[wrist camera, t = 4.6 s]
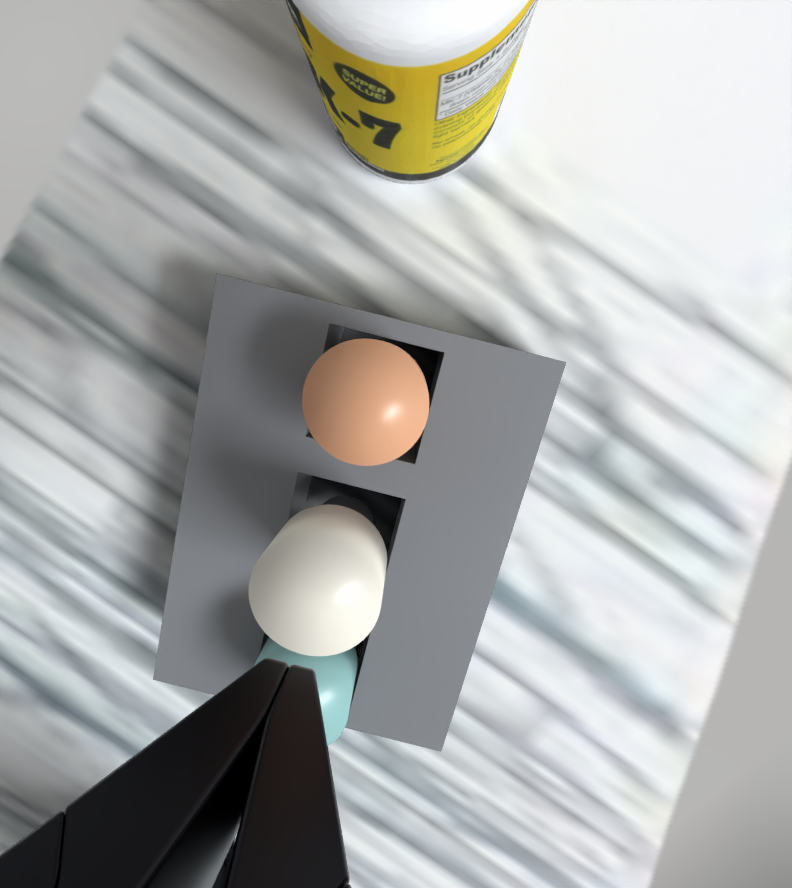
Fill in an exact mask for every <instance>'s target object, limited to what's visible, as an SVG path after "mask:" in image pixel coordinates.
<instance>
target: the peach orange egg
mask: <svg viewBox="0 0 792 888" xmlns="http://www.w3.org/2000/svg"><path fill="white" fill-rule="evenodd" d="M302 408H303V414H304V418H305V422H306V424H307V427H308V429H309V431H310V433H311V435H312V436H313V438H314V439H315V440H316V442H317V443H318V444H319V445H320V446H321V447H322V448H323V449H324V450H325V451H326V452H328V453H329V454H330V455H332V456H334V457H335V458H337V459H339V460H341V461H343V462H346V463H350V464H354V465H359V466H374V465H380V464H384V463H387V462H390V461H392V460H394V459H396V458H398V457H400V456H401V455H403V454H404V453H406V452H407V451H408V450H409V449H410V448H411V447H412V446H413V445H414V444H415V443H416V442H417V440H418V439H419V437H420V436H421V434H422V432H423V430H424V428H425V425H426V422H427V418H428V413H429V393H428V388H427V384H426V380H425V377H424V375H423V372H422V370H421V368H420V367H419V365H418V364H417V362H416V361H415V360H414V359H413V358H412V356H411V355H409V354H408V353H407V352H406V351H404V350H403V349H401V348H400V347H398V346H396V345H394V344H391V343H388V342H385V341H381V340H376V339H365V338H362V339H353V340H349V341H345V342H342V343H340V344H338V345H336V346H334V347H332V348H330V349H329V350H328V351H326V352H325V353H324V354H323V355H322V356H321V357H320V358H319V359H318V360H317V361H316V362H315V363H314V365H313V366H312V368H311V370H310V371H309V373H308V375H307V378H306V380H305V384H304V387H303V394H302Z"/></svg>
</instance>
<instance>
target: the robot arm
mask: <svg viewBox="0 0 792 888" xmlns="http://www.w3.org/2000/svg"><path fill="white" fill-rule="evenodd" d="M238 828H239V829H238ZM237 831H238V833H237ZM236 833H237V837H236V841H235V845H234V849H231V848H230V847H231V845H232V842H233V840H234V838H235V835H236ZM348 883H349V872H348V866H347V860H346V854H345V848H344V842H343V836H342V830H341V824H340V818H339V812H338V806H337V800H336V794H335V788H334V782H333V776H332V770H331V764H330V758H329V752H328V746H327V740H326V734H325V728H324V722H323V716H322V710H321V704H320V698H319V692H318V686H317V680H316V674H315V671H314V670H313V669H311V668H307V667H303V666H299V665H295V664H293V665H291V666H290V667H289V664H288V663H287V662H284V661H280V660H276V659H272V658H265V659H263V660H261V661H260V662H259V663H257V664H256V665H255V666H253V667H252V668H251V669H249V670H248V671H247V672H245V673H244V674H243V675H241V676H240V677H239V678H237V679H236V680H235V681H233V682H232V683H231V684H229V685H228V686H227V687H225V688H224V689H223V690H221V691H220V692H219V693H217V694H216V695H215V696H213V697H212V698H211V699H209V700H208V701H207V702H205V703H204V704H203V705H201V706H200V707H199V708H197V709H196V710H195V711H193V712H192V713H191V714H189V715H188V716H187V717H185V718H184V719H183V720H181V721H180V722H179V723H177V724H176V725H175V726H173V727H172V728H171V729H169V730H168V731H167V732H165V733H164V734H163V735H161V736H160V737H159V738H157V739H156V740H155V741H153V742H152V743H151V744H149V745H148V746H147V747H145V748H144V749H143V750H141V751H140V752H139V753H137V754H136V755H135V756H133V757H132V758H131V759H129V760H128V761H127V762H125V763H124V764H123V765H121V766H120V767H119V768H117V769H116V770H115V771H113V772H112V773H110V774H109V775H108V776H106V777H105V778H104V779H102V780H101V781H100V782H98V783H97V784H96V785H94V786H93V787H92V788H90V789H89V790H88V791H86V792H85V793H84V794H82V795H81V796H80V797H78V798H77V799H76V800H74V801H73V802H72V803H70V804H69V805H68V806H67V807H66V809H65V814H64V812H62V811H60V812H58V813H57V814H55V815H54V816H53V817H51V818H50V819H49V820H47V821H46V822H45V823H43V824H42V825H41V826H39V827H38V828H37V829H35V830H34V831H33V832H31V833H30V834H29V835H27V836H26V837H25V838H23V839H22V840H20V841H19V842H18V843H16V844H15V845H13V846H12V847H11V848H9V849H8V850H6V851H5V852H4V853H2V854H1V855H0V888H351V886H350V885H349V884H348Z"/></svg>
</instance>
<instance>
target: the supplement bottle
mask: <svg viewBox="0 0 792 888" xmlns="http://www.w3.org/2000/svg"><path fill="white" fill-rule="evenodd" d="M537 2H538V0H286V3H287V5H288V8H289V11H290V14H291V16H292V19H293V22H294V24H295V27H296V29H297V32H298V35H299V38H300V40H301V43H302V45H303V49H304V51H305V54H306V56H307V59H308V61H309V64H310V67H311V70H312V72H313V75H314V77H315V80H316V83H317V85H318V88H319V90H320V93H321V96H322V98H323V101H324V104H325V107H326V110H327V113H328V115H329V118H330V120H331V123H332V125H333V127H334V130H335V131H336V133H337V135H338V137H339V139H340V141H341V142H342V144H343V145H344V147H345V148H346V149H347V151H348V152H349V153H350V154H351V155H352V156H353V157H354V158H355V159H356V160H357V161H358V162H359V163H360V164H361V165H362V166H364V167H365V168H366V169H368V170H369V171H371V172H372V173H374V174H376V175H378V176H380V177H382V178H384V179H386V180H389V181H392V182H396V183H402V184H421V183H427V182H432V181H435V180H438V179H441V178H443V177H445V176H448V175H449V174H451V173H453V172H454V171H456V170H458V169H459V168H460V167H462V166H463V165H464V164H465V163H466V162H468V161H469V160H470V159H471V158H472V157H473V156H474V155H475V153H476V152H477V151H478V150H479V149H480V147H481V146H482V144H483V143H484V141H485V140H486V138H487V136H488V135H489V133H490V131H491V129H492V127H493V125H494V122H495V120H496V117H497V114H498V111H499V109H500V106H501V103H502V101H503V98H504V95H505V93H506V90H507V87H508V84H509V81H510V78H511V75H512V72H513V69H514V67H515V64H516V61H517V58H518V55H519V53H520V50H521V47H522V44H523V41H524V39H525V36H526V33H527V30H528V27H529V24H530V21H531V19H532V16H533V13H534V10H535V7H536V4H537Z"/></svg>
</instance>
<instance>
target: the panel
mask: <svg viewBox="0 0 792 888" xmlns="http://www.w3.org/2000/svg"><path fill="white" fill-rule="evenodd" d="M344 328H347V329H351V330H355V331H359V332H363V333H367V334H371V335H375V336H379V337H383V338H387V339H391V340H395V341H399V342H403V343H406V344H410V345H414V346H418V347H422V348H426V349H430V350H434V351H438V352H440V355H439V359H438V362H437V366H436V370H435V374H434V378H433V381H432V385H431V389H430V393H429V413H428V418H427V422H426V425H425V428H424V430H423V432H422V434H421V436H420V437H419V439H418V440H417V442H416V446H414V445H413V446H412V447H411V448H410V449H409V450H408V451H407V452H406V453H404V454H403V455H401V456H400V457H398V458H396V459H394V460H392V461H390V462H387V463H384V464H380V465H374V466H359V465H354V464H350V463H346V462H343V461H341V460H339V459H337V458H335V457H334V456H332V455H330V454H329V453H328V452H326V451H325V450H324V449H323V448H322V447H321V446H320V445H319V444H318V443H317V442H316V440H315V439H314V438H313V436H312V435H311V433H310V431H309V429H308V427H307V424H306V422H305V418H304V414H303V408H302V394H303V387H304V384H305V380H306V378H307V375H308V373H309V371H310V370H311V368H312V366H313V365H314V363H315V362H316V361H317V360H318V359H319V358H320V357H321V356H322V355H323V354H324V353H325V352H326V351H328V350H329V349H330V348H332V347H334V346H336V345H338V344H340V343H341V340H342V336H343V331H344ZM565 365H566V362H563V361H559V360H555V359H551V358H548V357H544V356H540V355H536V354H532V353H528V352H524V351H520V350H516V349H512V348H508V347H504V346H500V345H496V344H492V343H488V342H485V341H481V340H477V339H473V338H469V337H465V336H461V335H457V334H453V333H449V332H445V331H441V330H437V329H433V328H429V327H425V326H422V325H418V324H414V323H410V322H406V321H402V320H398V319H394V318H390V317H386V316H382V315H378V314H374V313H370V312H366V311H362V310H359V309H355V308H351V307H347V306H343V305H339V304H335V303H331V302H327V301H323V300H319V299H315V298H311V297H307V296H303V295H299V294H296V293H292V292H288V291H284V290H280V289H276V288H272V287H268V286H264V285H260V284H256V283H252V282H248V281H244V280H240V279H236V278H233V277H229V276H225V275H221V274H217V275H216V282H215V288H214V295H213V301H212V307H211V314H210V320H209V326H208V333H207V339H206V346H205V352H204V358H203V365H202V371H201V377H200V384H199V390H198V397H197V403H196V409H195V416H194V422H193V428H192V435H191V441H190V448H189V454H188V460H187V467H186V473H185V479H184V486H183V492H182V499H181V505H180V511H179V518H178V524H177V530H176V537H175V543H174V550H173V556H172V562H171V569H170V575H169V581H168V588H167V594H166V601H165V607H164V613H163V620H162V626H161V632H160V639H159V645H158V652H157V658H156V664H155V671H154V677H153V680H157V681H161V682H165V683H169V684H173V685H177V686H181V687H185V688H189V689H193V690H197V691H201V692H205V693H209V694H213V695H216V694H217V693H219V692H220V691H221V690H223V689H224V688H225V687H227V686H228V685H229V684H231V683H232V682H233V681H235V680H236V679H237V678H239V677H240V676H241V675H243V674H244V673H245V672H247V671H248V670H249V669H251V668H252V667H253V666H254V664H255V662H256V660H257V658H258V657H259V655H260V653H261V651H262V649H263V647H264V645H265V643H266V641H267V639H268V638H269V636H268V635H267V634H266V633H265V632H264V631H263V630H262V628H261V627H260V626H259V624H258V622H257V621H256V619H255V617H254V615H253V613H252V610H251V606H250V602H249V591H248V588H249V580H250V576H251V573H252V570H253V568H254V566H255V564H256V563H257V561H258V559H259V558H260V557H261V555H262V554H263V553H264V551H265V550H266V549H267V547H268V546H269V545H270V543H271V542H272V541H273V540H274V538H275V537H276V536H277V534H278V533H279V532H280V530H281V529H282V528H283V526H284V525H285V524H286V523H287V522H288V520H290V519H291V518H292V517H293V516H294V515H296V514H297V513H299V512H300V511H302V510H304V509H305V506H306V501H307V497H308V492H309V487H310V483H311V478H312V476H316V477H320V478H324V479H328V480H332V481H336V482H340V483H344V484H348V485H352V486H356V487H360V488H364V489H368V490H372V491H376V492H380V493H383V494H387V495H391V496H395V497H399V498H402V499H401V503H400V507H399V511H398V514H397V518H396V522H395V526H394V530H393V533H392V537H391V541H390V545H389V549H388V552H387V568H386V575H385V582H384V589H383V596H382V603H381V609H380V614H379V617H378V620H377V622H376V624H375V626H374V628H373V629H372V630H371V632H370V633H369V634H368V636H367V637H366V638H365V640H364V644H363V647H362V651H361V655H360V659H359V661H358V667H357V673H356V678H355V683H354V688H353V694H352V699H351V704H350V709H349V715H348V720H347V723H346V726H345V728H349V729H353V730H357V731H361V732H365V733H369V734H373V735H377V736H381V737H385V738H389V739H393V740H397V741H401V742H405V743H409V744H413V745H417V746H421V747H425V748H429V749H433V750H437V751H441V750H442V747H443V744H444V741H445V738H446V735H447V732H448V728H449V725H450V722H451V719H452V716H453V713H454V710H455V707H456V704H457V700H458V697H459V694H460V691H461V688H462V685H463V682H464V679H465V676H466V673H467V669H468V666H469V663H470V660H471V657H472V654H473V651H474V648H475V645H476V641H477V638H478V635H479V632H480V629H481V626H482V623H483V620H484V617H485V613H486V610H487V607H488V604H489V601H490V598H491V595H492V592H493V589H494V585H495V582H496V579H497V576H498V573H499V570H500V567H501V564H502V561H503V557H504V554H505V551H506V548H507V545H508V542H509V539H510V536H511V533H512V529H513V526H514V523H515V520H516V517H517V514H518V511H519V508H520V505H521V501H522V498H523V495H524V492H525V489H526V486H527V483H528V480H529V477H530V473H531V470H532V467H533V464H534V461H535V458H536V455H537V452H538V449H539V445H540V442H541V439H542V436H543V433H544V430H545V427H546V424H547V421H548V417H549V414H550V411H551V408H552V405H553V402H554V399H555V396H556V393H557V389H558V386H559V383H560V380H561V377H562V374H563V371H564V368H565Z"/></svg>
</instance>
